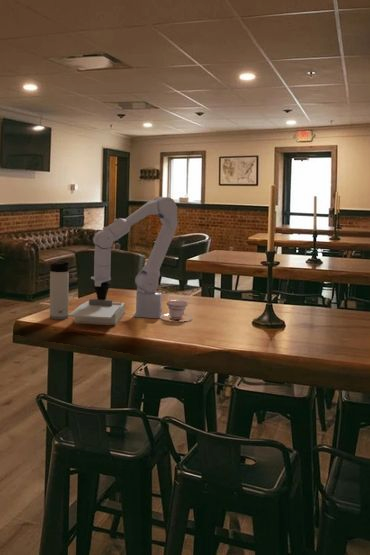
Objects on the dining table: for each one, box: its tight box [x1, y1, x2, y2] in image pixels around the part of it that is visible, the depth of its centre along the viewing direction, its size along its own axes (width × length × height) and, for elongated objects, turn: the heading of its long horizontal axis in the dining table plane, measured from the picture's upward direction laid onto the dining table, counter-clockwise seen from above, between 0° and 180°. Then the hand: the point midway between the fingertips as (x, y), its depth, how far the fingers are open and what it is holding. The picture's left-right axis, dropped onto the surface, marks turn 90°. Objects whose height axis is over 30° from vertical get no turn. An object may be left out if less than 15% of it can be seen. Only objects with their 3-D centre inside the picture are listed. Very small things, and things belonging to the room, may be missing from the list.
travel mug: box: [49, 261, 70, 321], centre depth 185 cm, size 6×7×20 cm
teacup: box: [159, 299, 193, 323], centre depth 193 cm, size 12×12×6 cm
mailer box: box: [74, 300, 126, 326], centre depth 189 cm, size 14×18×4 cm
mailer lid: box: [68, 298, 121, 319], centre depth 180 cm, size 14×18×2 cm
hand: (101, 302), depth 189 cm, fingers closed
